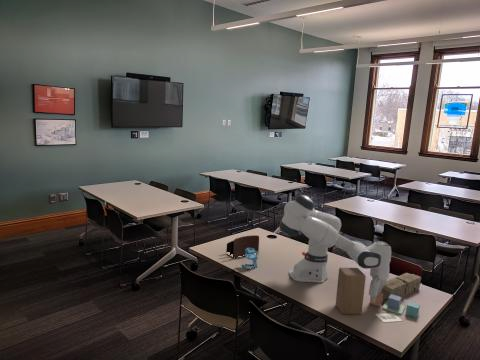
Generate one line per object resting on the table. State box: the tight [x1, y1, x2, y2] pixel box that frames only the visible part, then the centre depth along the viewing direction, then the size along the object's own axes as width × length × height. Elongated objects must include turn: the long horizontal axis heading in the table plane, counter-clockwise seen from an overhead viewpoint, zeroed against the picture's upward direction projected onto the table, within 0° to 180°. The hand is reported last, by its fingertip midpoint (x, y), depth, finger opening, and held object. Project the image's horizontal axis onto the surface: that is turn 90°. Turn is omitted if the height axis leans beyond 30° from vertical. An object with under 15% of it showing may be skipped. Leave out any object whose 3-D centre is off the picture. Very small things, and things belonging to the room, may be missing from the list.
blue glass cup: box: [242, 248, 259, 270], centre depth 221 cm, size 8×8×12 cm
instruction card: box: [374, 312, 403, 323], centre depth 170 cm, size 10×7×1 cm
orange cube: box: [369, 293, 384, 307], centre depth 184 cm, size 5×5×5 cm
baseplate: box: [381, 294, 406, 316], centre depth 179 cm, size 9×9×6 cm
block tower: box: [381, 272, 422, 301], centre depth 196 cm, size 8×8×29 cm
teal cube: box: [405, 300, 421, 319], centre depth 175 cm, size 5×5×5 cm
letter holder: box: [225, 234, 260, 257], centre depth 242 cm, size 10×20×14 cm, turn 121°
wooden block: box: [335, 267, 367, 315], centre depth 174 cm, size 10×10×20 cm
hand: (376, 298), depth 184 cm, fingers open, 8 cm apart
